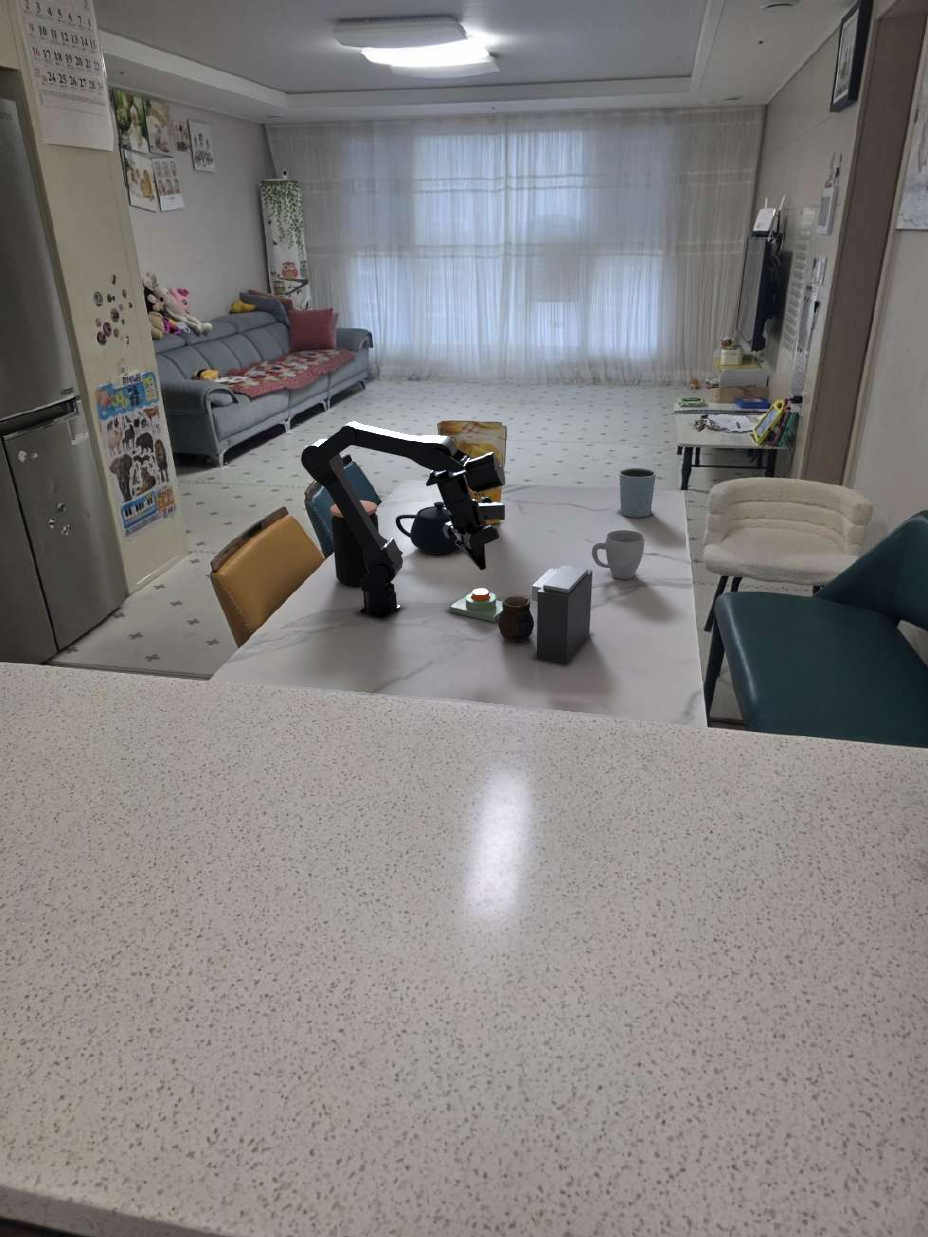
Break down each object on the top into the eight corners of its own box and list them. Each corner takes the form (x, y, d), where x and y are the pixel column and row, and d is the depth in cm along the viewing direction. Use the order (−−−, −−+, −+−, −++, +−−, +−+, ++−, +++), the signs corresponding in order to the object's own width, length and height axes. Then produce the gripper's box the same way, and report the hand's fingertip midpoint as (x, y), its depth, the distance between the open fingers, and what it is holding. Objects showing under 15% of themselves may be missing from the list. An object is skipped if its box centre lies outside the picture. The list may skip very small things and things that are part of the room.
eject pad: (449, 611, 178) (449, 598, 177) (468, 598, 184) (468, 586, 183) (494, 622, 173) (493, 609, 172) (512, 608, 179) (512, 595, 178)
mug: (638, 567, 199) (641, 529, 195) (644, 581, 191) (647, 542, 187) (588, 568, 200) (590, 530, 196) (592, 581, 192) (594, 542, 188)
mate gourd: (514, 626, 171) (515, 581, 167) (542, 637, 166) (543, 591, 162) (490, 637, 166) (490, 591, 162) (518, 649, 162) (519, 602, 157)
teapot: (389, 556, 209) (387, 510, 204) (403, 536, 223) (401, 492, 218) (487, 560, 205) (486, 513, 200) (495, 539, 219) (495, 495, 214)
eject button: (469, 600, 177) (469, 592, 176) (477, 594, 180) (477, 587, 179) (483, 603, 175) (483, 596, 175) (492, 597, 178) (492, 590, 177)
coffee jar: (390, 575, 198) (385, 503, 190) (367, 591, 189) (361, 516, 182) (352, 569, 202) (346, 498, 194) (327, 584, 193) (320, 510, 186)
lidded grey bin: (526, 656, 159) (527, 585, 152) (552, 627, 170) (554, 560, 164) (565, 664, 155) (568, 592, 149) (589, 634, 167) (592, 566, 160)
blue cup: (655, 518, 233) (659, 476, 228) (619, 518, 233) (622, 477, 228) (648, 507, 242) (652, 467, 237) (614, 507, 243) (616, 467, 238)
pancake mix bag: (442, 515, 239) (439, 418, 228) (507, 518, 235) (507, 420, 224) (436, 522, 233) (433, 423, 222) (503, 526, 230) (503, 425, 218)
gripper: (509, 487, 158) (534, 561, 163) (478, 480, 175) (501, 547, 180) (458, 510, 156) (485, 584, 161) (431, 500, 173) (456, 567, 178)
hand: (483, 569), depth 170 cm, fingers closed
